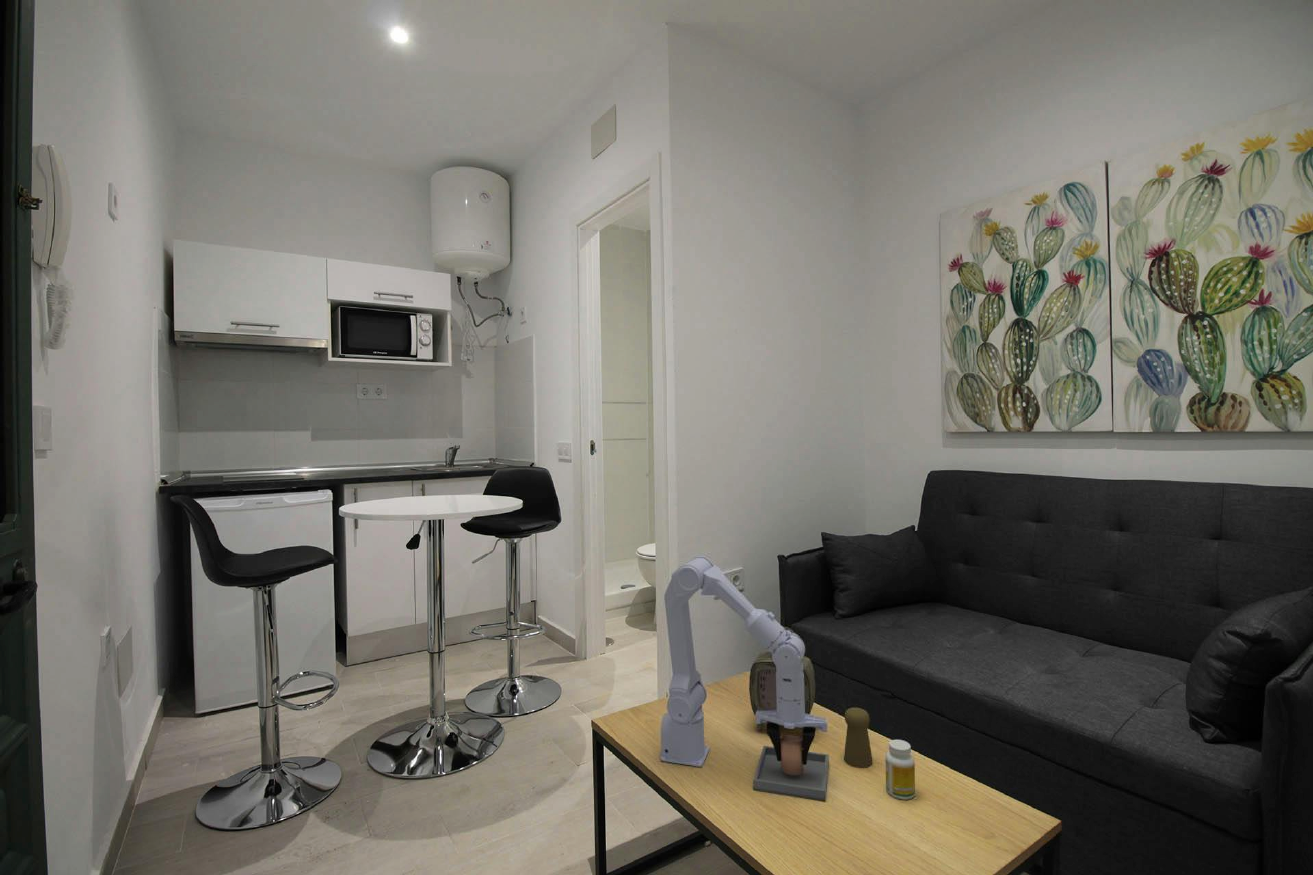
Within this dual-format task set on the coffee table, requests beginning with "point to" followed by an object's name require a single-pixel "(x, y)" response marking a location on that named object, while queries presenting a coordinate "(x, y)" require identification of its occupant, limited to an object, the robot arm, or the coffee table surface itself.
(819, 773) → the tray
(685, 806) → the coffee table surface
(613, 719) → the coffee table surface
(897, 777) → the supplement bottle
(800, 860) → the coffee table surface
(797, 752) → the brown clay cylinder
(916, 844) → the coffee table surface
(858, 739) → the brown pawn figure
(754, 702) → the tabletop clock
